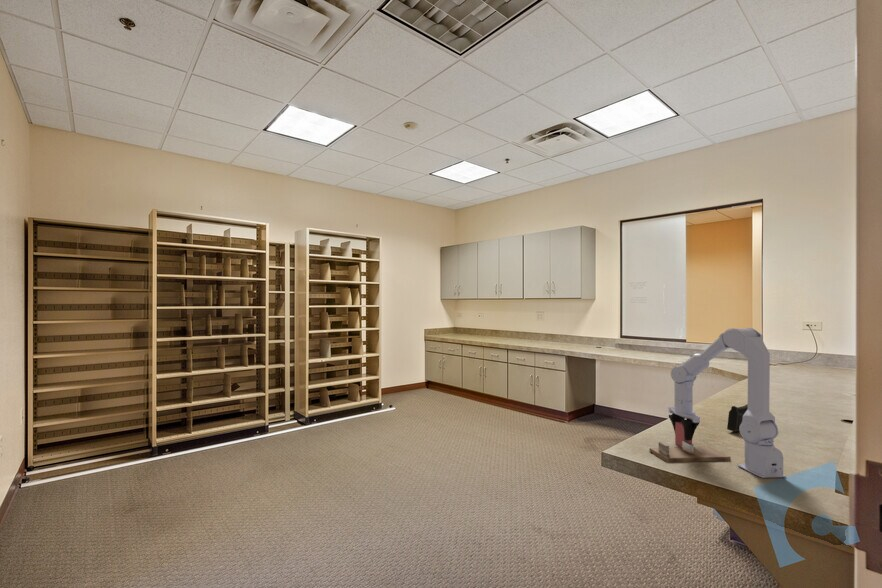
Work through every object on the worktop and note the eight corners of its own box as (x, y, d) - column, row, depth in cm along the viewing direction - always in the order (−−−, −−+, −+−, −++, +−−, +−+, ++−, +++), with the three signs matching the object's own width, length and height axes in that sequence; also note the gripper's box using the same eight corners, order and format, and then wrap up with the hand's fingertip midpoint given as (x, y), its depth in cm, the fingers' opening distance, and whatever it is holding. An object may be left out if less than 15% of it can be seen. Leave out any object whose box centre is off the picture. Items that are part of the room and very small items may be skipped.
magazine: (733, 412, 169) (760, 383, 186) (724, 410, 172) (751, 381, 189) (738, 452, 172) (765, 419, 189) (729, 449, 174) (756, 417, 192)
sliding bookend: (685, 449, 148) (685, 440, 148) (693, 453, 144) (693, 444, 144) (682, 449, 147) (682, 440, 148) (690, 453, 143) (690, 444, 144)
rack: (708, 450, 152) (708, 438, 152) (730, 460, 142) (730, 447, 142) (649, 451, 149) (649, 439, 150) (667, 462, 140) (667, 449, 140)
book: (692, 448, 154) (692, 425, 154) (684, 448, 153) (684, 425, 154) (682, 443, 159) (682, 421, 159) (675, 443, 158) (675, 421, 158)
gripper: (708, 404, 149) (708, 443, 149) (680, 395, 164) (680, 431, 164) (688, 404, 149) (688, 444, 149) (663, 395, 163) (663, 431, 163)
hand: (683, 437), depth 156 cm, fingers open, 5 cm apart
